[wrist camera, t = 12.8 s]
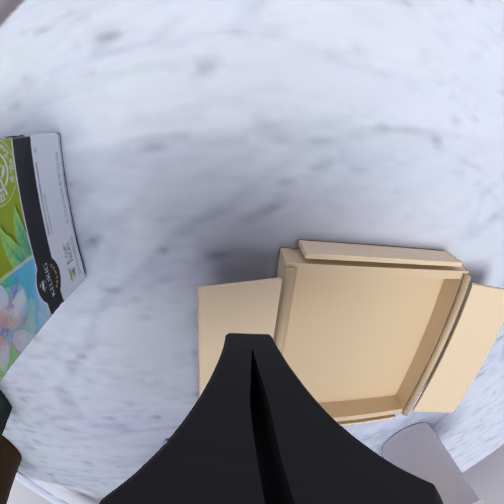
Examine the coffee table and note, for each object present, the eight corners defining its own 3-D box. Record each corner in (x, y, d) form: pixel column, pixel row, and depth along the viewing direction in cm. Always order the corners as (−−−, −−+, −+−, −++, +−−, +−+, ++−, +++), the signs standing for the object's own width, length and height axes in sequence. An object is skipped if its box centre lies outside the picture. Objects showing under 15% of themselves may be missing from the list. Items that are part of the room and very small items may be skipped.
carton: (395, 400, 26) (406, 420, 23) (257, 410, 24) (259, 435, 22) (455, 250, 20) (477, 266, 17) (281, 237, 19) (289, 255, 16)
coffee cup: (448, 427, 30) (494, 513, 16) (387, 466, 32) (419, 555, 18) (428, 403, 27) (487, 512, 13) (355, 450, 29) (390, 562, 15)
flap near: (258, 426, 21) (202, 440, 20) (256, 424, 21) (200, 437, 20) (281, 279, 17) (199, 289, 15) (279, 277, 17) (197, 286, 15)
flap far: (412, 408, 23) (452, 410, 22) (413, 411, 22) (453, 412, 22) (471, 282, 18) (514, 290, 17) (472, 284, 18) (516, 292, 17)
